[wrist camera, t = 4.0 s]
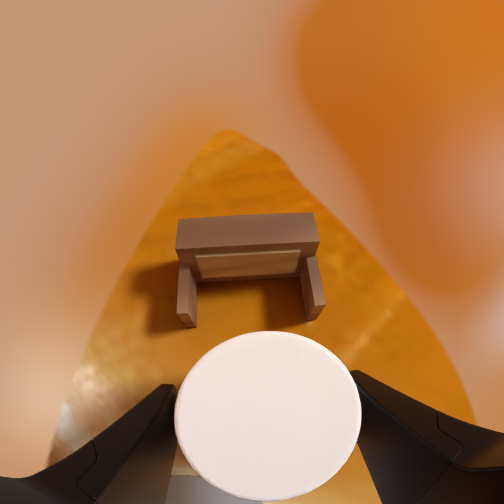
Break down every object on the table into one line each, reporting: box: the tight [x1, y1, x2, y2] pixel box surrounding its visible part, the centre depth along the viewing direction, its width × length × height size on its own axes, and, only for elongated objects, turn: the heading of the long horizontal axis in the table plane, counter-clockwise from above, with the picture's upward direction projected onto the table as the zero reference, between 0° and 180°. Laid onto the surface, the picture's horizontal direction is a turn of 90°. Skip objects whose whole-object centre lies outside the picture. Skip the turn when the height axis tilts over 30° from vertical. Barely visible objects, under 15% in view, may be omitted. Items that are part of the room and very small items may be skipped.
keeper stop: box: [175, 213, 326, 327], centre depth 15 cm, size 5×8×4 cm, turn 94°
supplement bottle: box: [174, 331, 361, 501], centre depth 9 cm, size 5×5×10 cm
